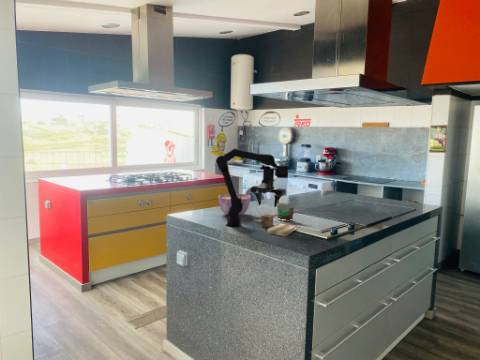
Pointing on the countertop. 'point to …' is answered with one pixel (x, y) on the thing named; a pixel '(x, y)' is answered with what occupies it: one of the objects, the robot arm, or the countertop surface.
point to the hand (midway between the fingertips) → (267, 206)
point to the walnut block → (267, 220)
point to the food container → (285, 211)
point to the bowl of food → (226, 202)
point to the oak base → (281, 229)
